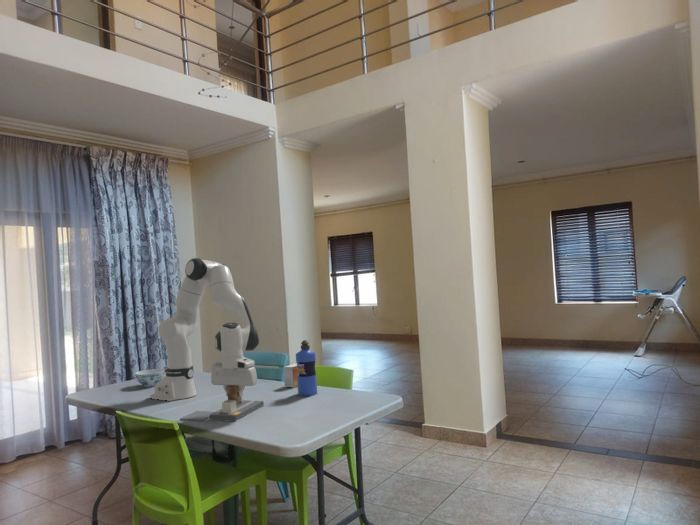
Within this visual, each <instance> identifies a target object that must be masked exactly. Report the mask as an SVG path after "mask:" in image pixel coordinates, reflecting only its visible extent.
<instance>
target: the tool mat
mask: <svg viewBox="0 0 700 525" xmlns="http://www.w3.org/2000/svg"><path fill="white" fill-rule="evenodd" d="M214 412H215V411H208V410H207V411H205V410H196V411H193V412H191V413H189V414H187V415H184V416H182V417H180V418H179V421H188V420H190V421H191V422H192V421H193V422H204V420H205V421H206V419H207V420H208V418H209V419H210V414H212V413H214Z"/></svg>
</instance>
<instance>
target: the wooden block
mask: <svg viewBox="0 0 700 525" xmlns="http://www.w3.org/2000/svg"><path fill="white" fill-rule="evenodd" d="M240 389H241V388H239V386H233V385H229V386H227V393H228V396H227V400H236V406H238V405H240V404H242V399H243V398H242V397H243V396H238V394H237V392H239V391H240Z"/></svg>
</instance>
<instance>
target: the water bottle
mask: <svg viewBox="0 0 700 525" xmlns="http://www.w3.org/2000/svg"><path fill="white" fill-rule="evenodd" d="M309 343H310V342H309V341H308V340H307V339H305V340H302V341H301V342H300V351H298V352H297V353H295V362H296V364H297V368H298V373H297V384H298V386H297V395H298V396H299V395H302V396H301V397H311V396H310V395H313V396H316V395H318V382H317V380H318V379H317V373H316V372H317V371H316V360H317V358H316V356H317V355H316V352H315V351H313V350H311V349H310V348H311V347H310V344H309ZM315 394H316V395H315Z"/></svg>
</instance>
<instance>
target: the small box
mask: <svg viewBox="0 0 700 525" xmlns="http://www.w3.org/2000/svg"><path fill="white" fill-rule="evenodd" d="M283 373H284V375H283V377H284V378H283V379H284V388H287V387H292V388H291V389H294V388H298V384H297V373H298V368H297V363H292V364H289V365H286V366H283Z"/></svg>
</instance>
